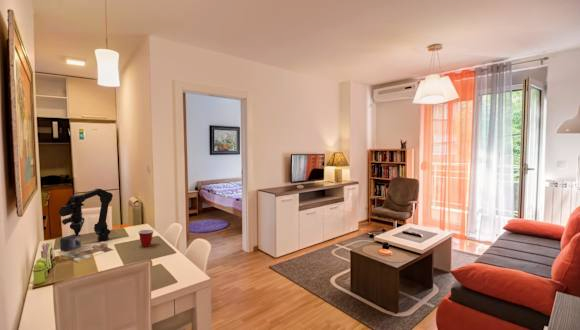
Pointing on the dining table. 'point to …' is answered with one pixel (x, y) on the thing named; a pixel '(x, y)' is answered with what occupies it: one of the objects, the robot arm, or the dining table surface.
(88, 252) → the trap deck
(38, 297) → the dining table surface
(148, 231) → the plastic cup
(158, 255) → the dining table surface
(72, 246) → the small box
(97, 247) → the maple block
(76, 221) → the robot arm
